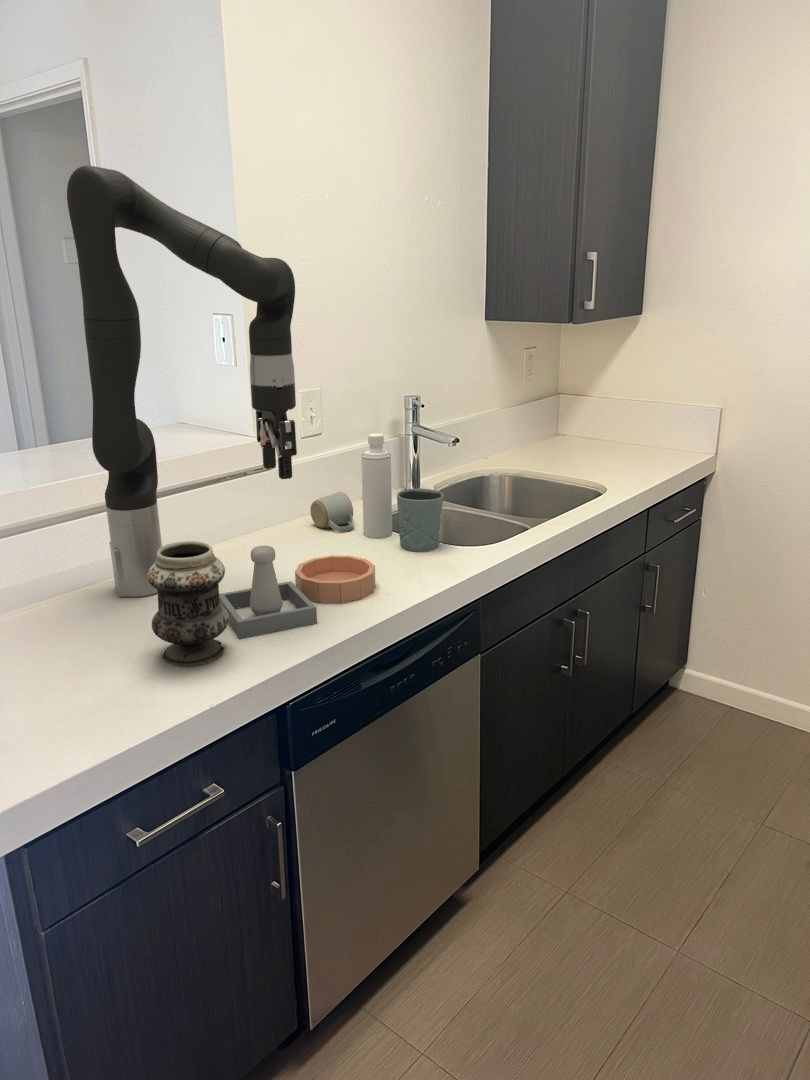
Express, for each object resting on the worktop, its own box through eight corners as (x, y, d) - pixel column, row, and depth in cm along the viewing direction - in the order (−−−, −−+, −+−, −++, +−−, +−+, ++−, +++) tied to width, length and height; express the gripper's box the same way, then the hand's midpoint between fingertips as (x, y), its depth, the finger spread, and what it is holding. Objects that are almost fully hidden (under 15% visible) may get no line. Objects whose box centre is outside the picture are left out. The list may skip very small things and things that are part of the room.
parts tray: (239, 638, 139) (237, 622, 138) (218, 609, 151) (217, 594, 150) (317, 623, 145) (316, 607, 144) (291, 595, 157) (291, 581, 156)
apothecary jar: (243, 657, 133) (234, 552, 127) (169, 677, 126) (156, 567, 121) (216, 631, 142) (207, 532, 137) (146, 648, 136) (133, 545, 130)
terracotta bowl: (312, 608, 151) (311, 588, 150) (287, 581, 164) (285, 562, 163) (387, 594, 157) (386, 574, 156) (356, 569, 170) (356, 551, 169)
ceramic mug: (308, 525, 199) (307, 494, 197) (335, 518, 204) (335, 488, 202) (334, 536, 192) (334, 504, 189) (362, 528, 197) (362, 498, 194)
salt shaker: (276, 623, 145) (272, 554, 141) (245, 621, 146) (240, 552, 142) (287, 610, 150) (283, 543, 146) (257, 608, 151) (253, 541, 147)
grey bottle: (369, 528, 196) (367, 424, 188) (396, 531, 194) (394, 425, 186) (359, 536, 191) (356, 429, 183) (386, 539, 188) (384, 431, 180)
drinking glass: (388, 544, 185) (387, 493, 181) (423, 535, 191) (423, 485, 187) (416, 556, 178) (416, 502, 174) (452, 546, 183) (452, 494, 179)
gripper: (239, 377, 145) (245, 467, 151) (264, 387, 133) (270, 484, 139) (279, 374, 149) (284, 462, 154) (308, 384, 137) (312, 479, 142)
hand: (277, 473), depth 146 cm, fingers open, 8 cm apart
